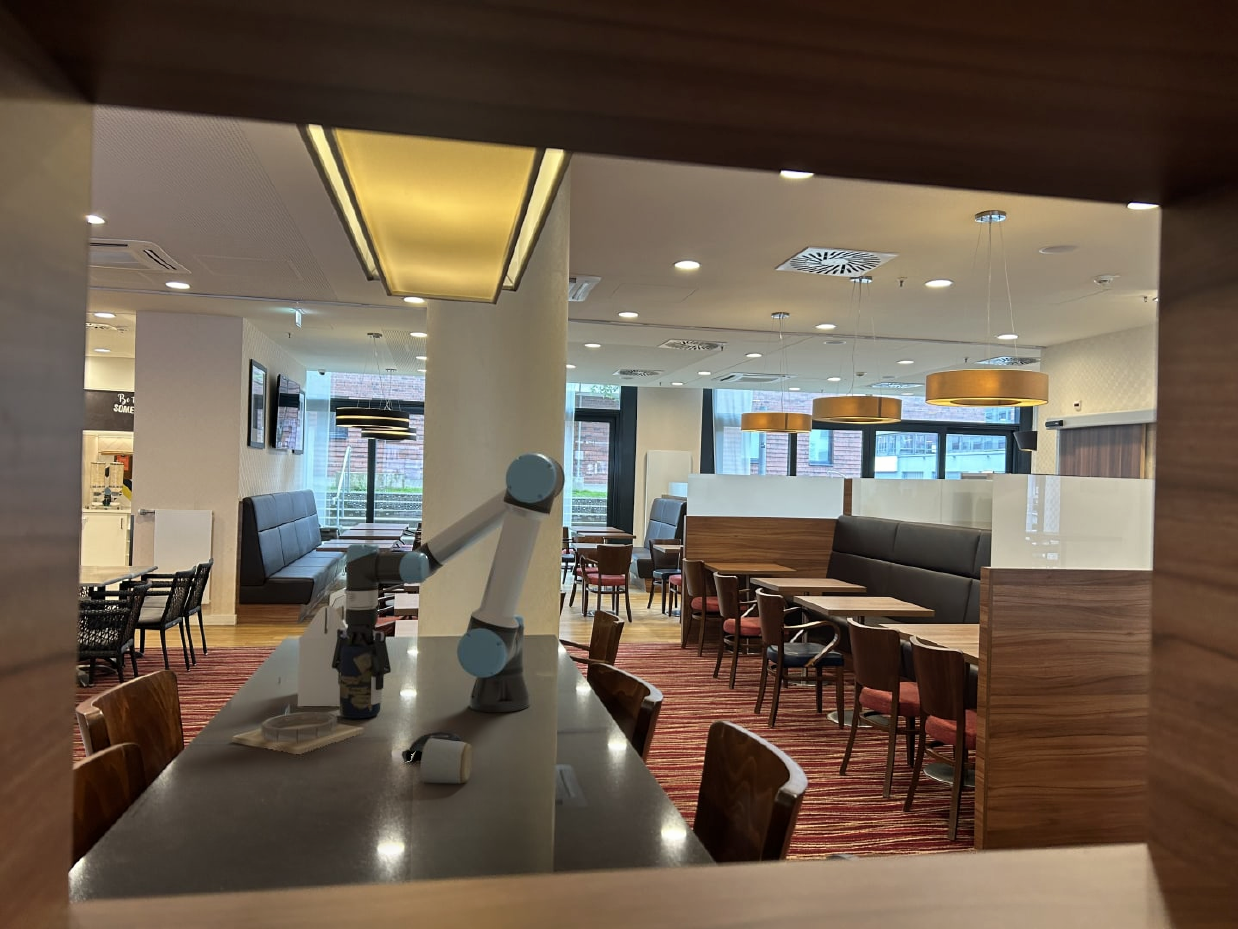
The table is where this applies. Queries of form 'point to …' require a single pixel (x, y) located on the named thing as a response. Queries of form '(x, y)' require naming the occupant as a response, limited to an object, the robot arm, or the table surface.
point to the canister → (357, 682)
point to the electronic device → (422, 741)
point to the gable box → (321, 654)
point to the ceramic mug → (446, 761)
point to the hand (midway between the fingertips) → (360, 701)
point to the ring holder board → (297, 745)
